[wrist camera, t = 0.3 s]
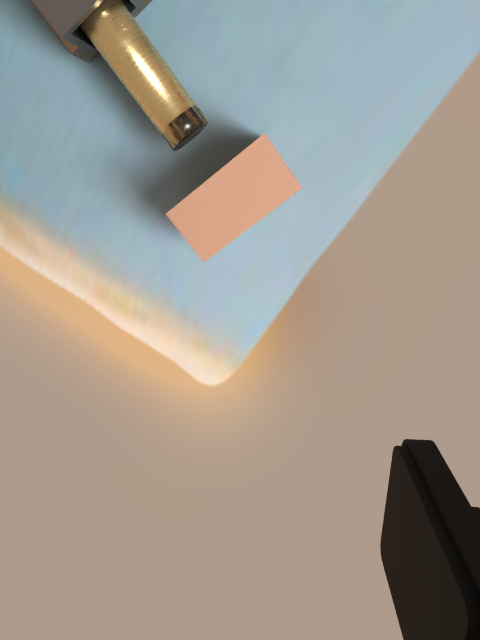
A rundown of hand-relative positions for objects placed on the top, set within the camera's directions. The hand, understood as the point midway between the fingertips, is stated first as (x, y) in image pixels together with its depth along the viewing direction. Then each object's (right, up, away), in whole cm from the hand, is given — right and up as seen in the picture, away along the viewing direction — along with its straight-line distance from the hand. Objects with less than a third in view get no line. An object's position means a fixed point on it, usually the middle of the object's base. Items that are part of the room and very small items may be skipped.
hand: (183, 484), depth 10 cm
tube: (-7, +23, +19) cm, 31 cm away
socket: (+1, +14, +26) cm, 30 cm away
